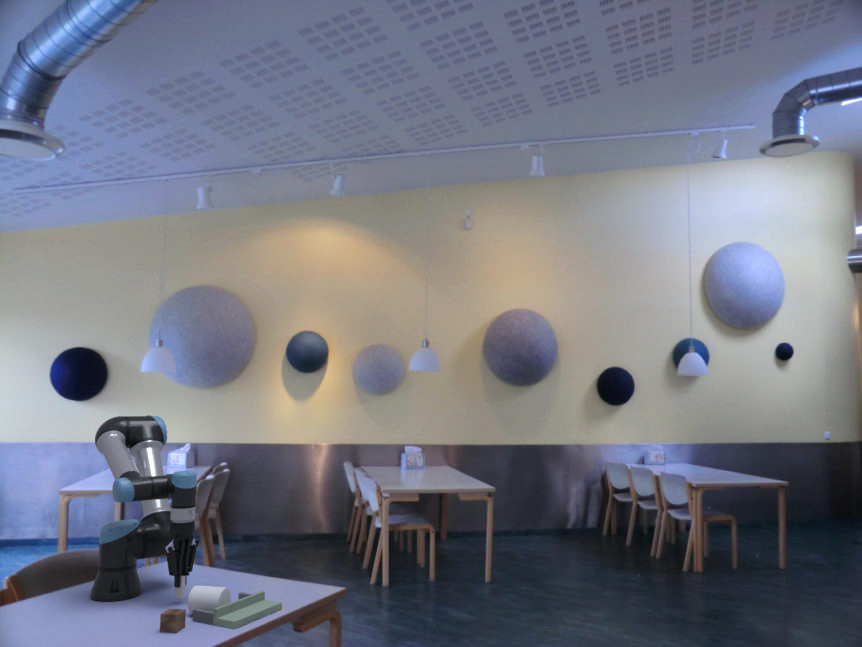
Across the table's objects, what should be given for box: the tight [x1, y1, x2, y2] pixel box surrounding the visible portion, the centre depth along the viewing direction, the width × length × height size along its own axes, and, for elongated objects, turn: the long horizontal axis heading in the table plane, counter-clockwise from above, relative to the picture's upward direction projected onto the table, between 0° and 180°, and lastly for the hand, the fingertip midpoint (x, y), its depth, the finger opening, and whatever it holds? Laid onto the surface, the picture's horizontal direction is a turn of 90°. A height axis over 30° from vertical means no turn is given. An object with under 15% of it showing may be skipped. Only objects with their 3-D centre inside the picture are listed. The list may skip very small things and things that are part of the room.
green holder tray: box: [192, 590, 283, 630], centre depth 217 cm, size 16×21×4 cm
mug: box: [187, 585, 232, 615], centre depth 220 cm, size 12×10×8 cm
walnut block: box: [159, 608, 187, 634], centre depth 203 cm, size 5×5×5 cm
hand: (179, 597), depth 227 cm, fingers closed
